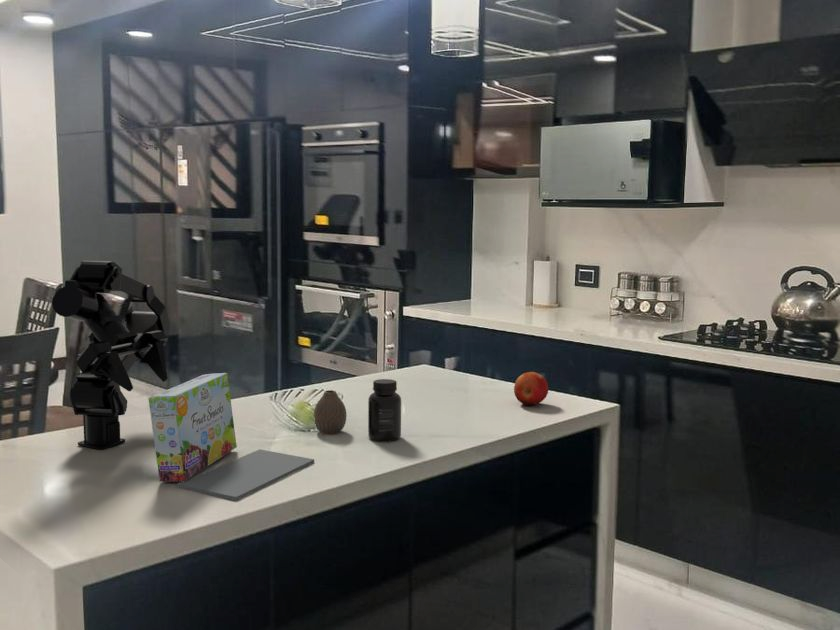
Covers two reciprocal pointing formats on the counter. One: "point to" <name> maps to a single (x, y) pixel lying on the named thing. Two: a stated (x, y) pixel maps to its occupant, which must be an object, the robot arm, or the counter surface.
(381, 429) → the supplement bottle
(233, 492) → the mat
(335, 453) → the counter surface
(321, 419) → the vase
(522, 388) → the apple
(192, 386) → the snack box
